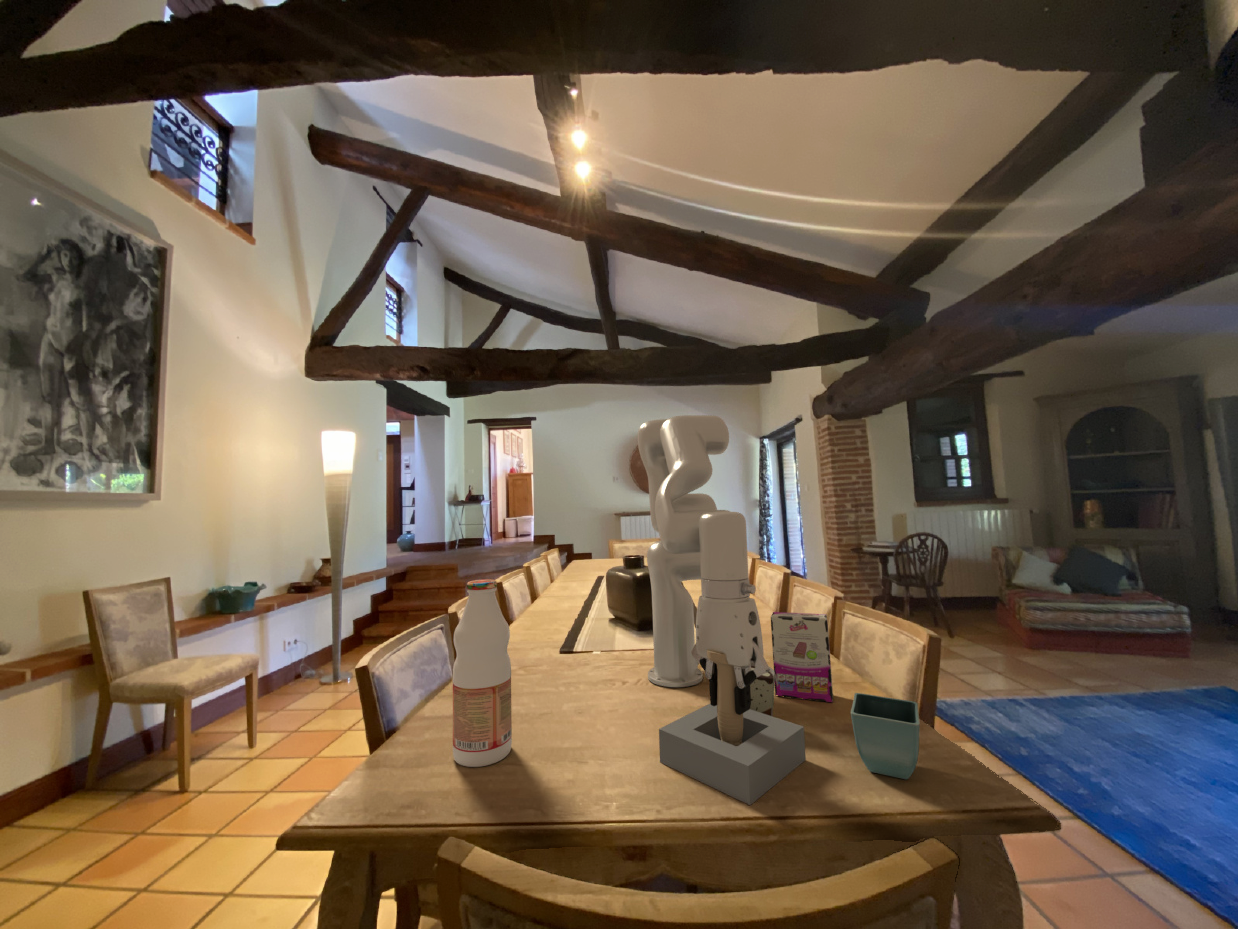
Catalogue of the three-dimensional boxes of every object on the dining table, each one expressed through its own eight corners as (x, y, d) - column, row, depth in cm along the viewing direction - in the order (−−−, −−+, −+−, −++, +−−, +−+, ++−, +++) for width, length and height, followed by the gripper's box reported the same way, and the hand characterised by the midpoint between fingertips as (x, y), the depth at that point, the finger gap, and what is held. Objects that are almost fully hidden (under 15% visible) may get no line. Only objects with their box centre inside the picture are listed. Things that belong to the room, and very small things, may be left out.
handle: (754, 757, 74) (749, 654, 75) (711, 754, 75) (707, 653, 76) (751, 741, 79) (746, 645, 80) (710, 739, 80) (706, 644, 81)
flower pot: (925, 792, 68) (920, 724, 68) (854, 776, 72) (850, 712, 73) (922, 762, 75) (917, 701, 76) (858, 749, 80) (854, 692, 80)
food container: (784, 719, 91) (781, 663, 92) (780, 733, 85) (777, 674, 86) (718, 709, 96) (716, 656, 97) (710, 722, 91) (708, 666, 91)
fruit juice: (461, 775, 75) (461, 588, 77) (446, 750, 83) (446, 581, 85) (520, 756, 80) (518, 581, 82) (500, 735, 88) (499, 575, 90)
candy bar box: (832, 694, 102) (827, 613, 103) (833, 703, 97) (828, 618, 99) (776, 688, 106) (772, 610, 108) (774, 696, 102) (770, 615, 103)
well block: (719, 728, 88) (718, 699, 89) (805, 760, 77) (803, 726, 77) (659, 762, 77) (658, 729, 78) (749, 805, 66) (748, 766, 66)
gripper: (785, 591, 76) (791, 715, 74) (697, 581, 88) (701, 687, 86) (759, 598, 70) (765, 732, 69) (669, 587, 82) (673, 700, 81)
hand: (730, 706), depth 78 cm, fingers closed on handle, 3 cm apart
